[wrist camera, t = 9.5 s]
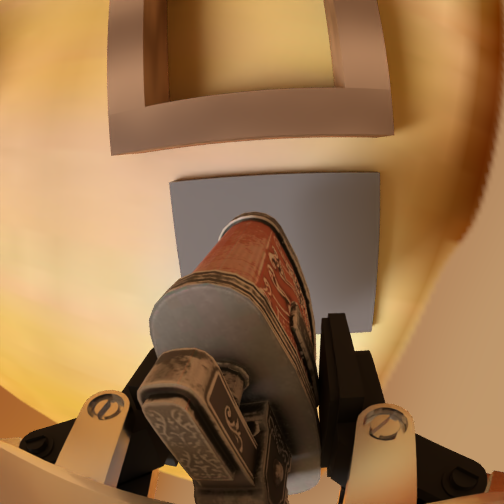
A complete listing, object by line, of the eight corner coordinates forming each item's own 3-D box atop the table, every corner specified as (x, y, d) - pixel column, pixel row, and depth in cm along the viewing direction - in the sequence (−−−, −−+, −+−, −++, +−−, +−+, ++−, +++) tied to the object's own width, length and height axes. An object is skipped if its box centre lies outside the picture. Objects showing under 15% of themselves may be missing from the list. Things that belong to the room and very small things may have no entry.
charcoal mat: (172, 181, 19) (169, 182, 18) (377, 172, 17) (379, 172, 16) (193, 328, 22) (190, 332, 21) (369, 327, 20) (371, 331, 19)
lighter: (327, 361, 15) (337, 553, 5) (261, 373, 16) (225, 555, 6) (283, 201, 13) (248, 342, 3) (206, 223, 14) (50, 366, 4)
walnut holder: (138, -30, 14) (115, -51, 11) (345, -56, 12) (352, -84, 9) (140, 153, 18) (111, 155, 15) (376, 137, 16) (394, 135, 13)
